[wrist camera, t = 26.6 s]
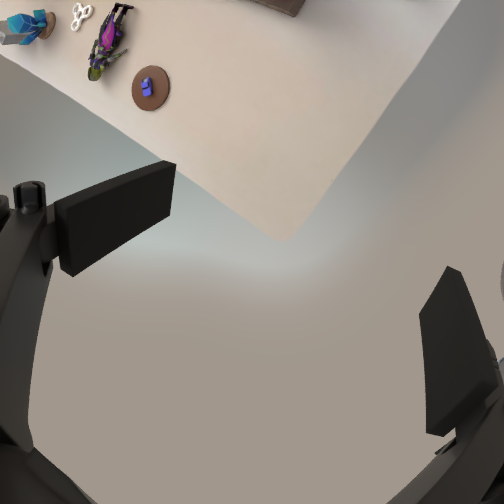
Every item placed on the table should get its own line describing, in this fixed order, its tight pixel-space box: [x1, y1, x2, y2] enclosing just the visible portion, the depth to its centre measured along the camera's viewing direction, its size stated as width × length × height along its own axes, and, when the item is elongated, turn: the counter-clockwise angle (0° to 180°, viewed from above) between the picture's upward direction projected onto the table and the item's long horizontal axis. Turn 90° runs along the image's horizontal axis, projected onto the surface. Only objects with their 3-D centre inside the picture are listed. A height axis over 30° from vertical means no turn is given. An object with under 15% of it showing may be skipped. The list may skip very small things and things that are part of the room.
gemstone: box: [7, 9, 55, 45], centre depth 41 cm, size 7×9×12 cm
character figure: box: [88, 3, 134, 81], centre depth 42 cm, size 9×4×16 cm
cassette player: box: [0, 21, 32, 45], centre depth 44 cm, size 16×3×10 cm, turn 53°
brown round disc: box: [132, 66, 169, 111], centre depth 45 cm, size 8×8×2 cm
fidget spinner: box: [71, 3, 92, 31], centre depth 42 cm, size 7×6×1 cm
